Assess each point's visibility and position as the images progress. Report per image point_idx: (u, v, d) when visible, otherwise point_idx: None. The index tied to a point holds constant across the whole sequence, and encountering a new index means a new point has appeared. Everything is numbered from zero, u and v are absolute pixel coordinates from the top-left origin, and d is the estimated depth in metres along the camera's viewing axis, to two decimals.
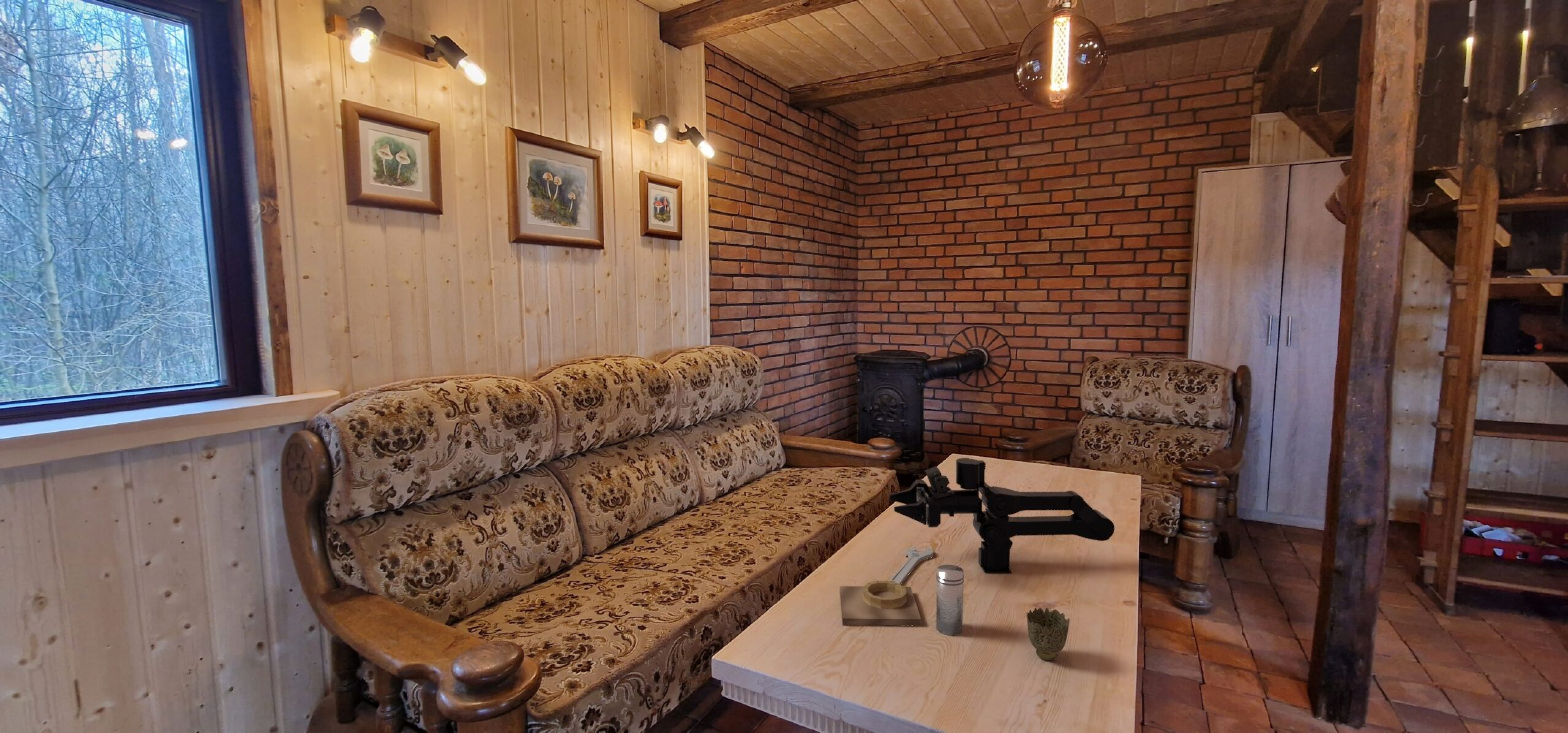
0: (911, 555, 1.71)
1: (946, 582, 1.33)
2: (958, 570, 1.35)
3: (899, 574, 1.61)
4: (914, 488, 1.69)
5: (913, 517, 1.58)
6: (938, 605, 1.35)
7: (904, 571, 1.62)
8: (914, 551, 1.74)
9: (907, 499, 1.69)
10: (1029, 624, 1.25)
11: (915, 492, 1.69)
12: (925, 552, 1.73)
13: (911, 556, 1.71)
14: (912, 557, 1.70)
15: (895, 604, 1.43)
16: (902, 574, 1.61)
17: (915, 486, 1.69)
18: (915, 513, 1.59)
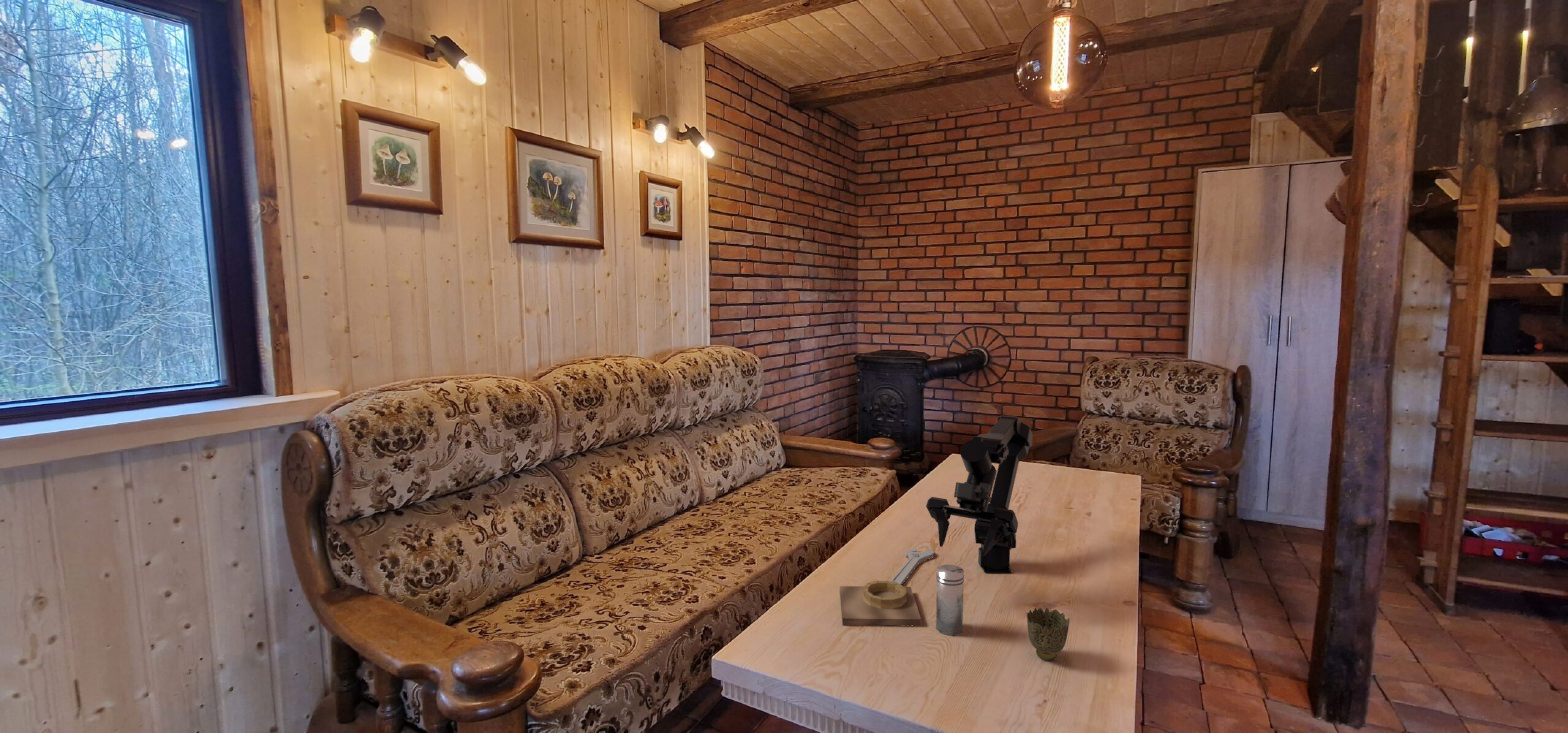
0: (911, 556, 1.71)
1: (946, 582, 1.33)
2: (958, 570, 1.35)
3: (900, 575, 1.61)
4: (944, 514, 1.47)
5: (996, 541, 1.42)
6: (938, 605, 1.35)
7: (905, 572, 1.62)
8: (914, 552, 1.73)
9: (945, 528, 1.47)
10: (1029, 624, 1.25)
11: (945, 515, 1.48)
12: (925, 553, 1.73)
13: (912, 557, 1.70)
14: (913, 558, 1.70)
15: (895, 604, 1.43)
16: (903, 575, 1.61)
17: (943, 512, 1.47)
18: (995, 536, 1.42)
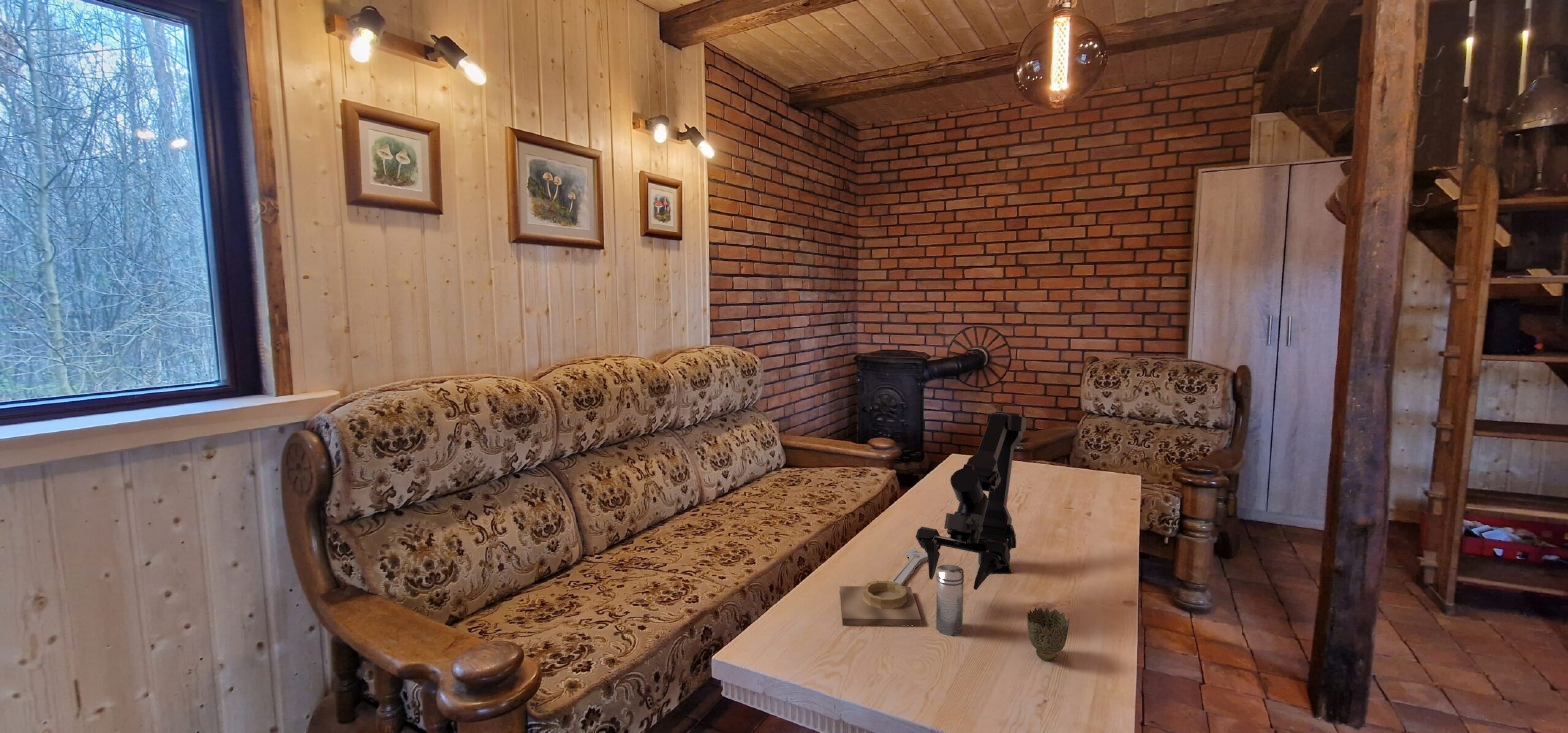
0: (912, 556, 1.71)
1: (946, 582, 1.33)
2: (958, 570, 1.35)
3: (900, 575, 1.60)
4: (934, 545, 1.42)
5: (988, 574, 1.37)
6: (938, 605, 1.35)
7: (905, 572, 1.62)
8: (915, 552, 1.73)
9: (936, 559, 1.42)
10: (1029, 624, 1.25)
11: (935, 547, 1.42)
12: (926, 553, 1.72)
13: (912, 557, 1.70)
14: (913, 558, 1.69)
15: (895, 604, 1.43)
16: (903, 575, 1.60)
17: (933, 543, 1.41)
18: (987, 569, 1.37)
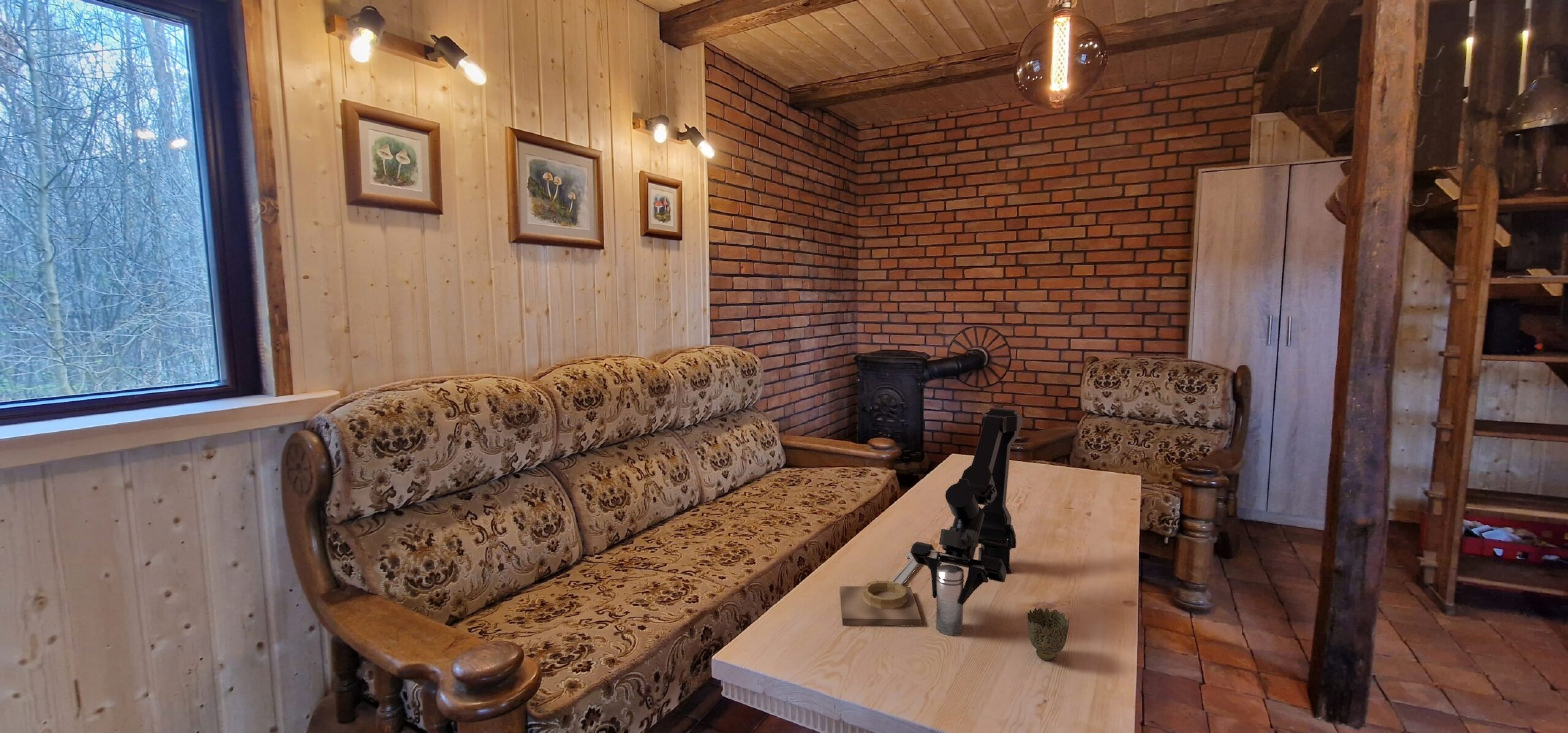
0: (912, 557, 1.70)
1: (946, 582, 1.33)
2: (958, 570, 1.35)
3: (900, 576, 1.60)
4: (937, 563, 1.38)
5: (975, 588, 1.36)
6: (938, 605, 1.35)
7: (905, 573, 1.61)
8: None
9: None
10: (1029, 624, 1.25)
11: (939, 564, 1.39)
12: None
13: (912, 558, 1.70)
14: (913, 559, 1.69)
15: (895, 604, 1.43)
16: (903, 576, 1.60)
17: (937, 561, 1.38)
18: (973, 584, 1.36)
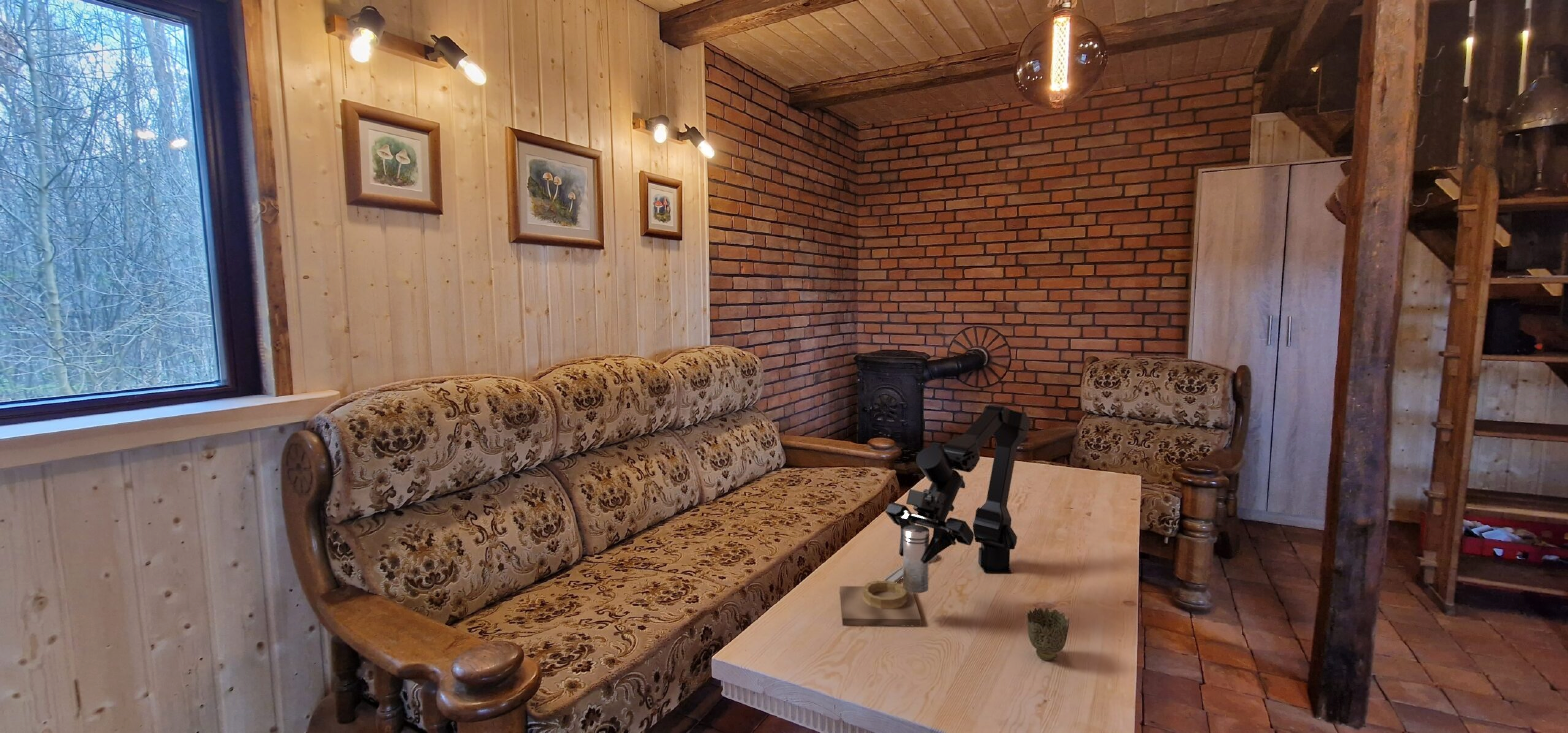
0: None
1: (909, 540, 1.37)
2: (924, 530, 1.38)
3: (894, 575, 1.60)
4: (907, 523, 1.42)
5: (941, 549, 1.38)
6: (903, 563, 1.39)
7: (900, 572, 1.62)
8: None
9: None
10: (1029, 624, 1.25)
11: (910, 524, 1.43)
12: None
13: None
14: None
15: (895, 604, 1.43)
16: (897, 575, 1.60)
17: (907, 521, 1.42)
18: (939, 545, 1.38)
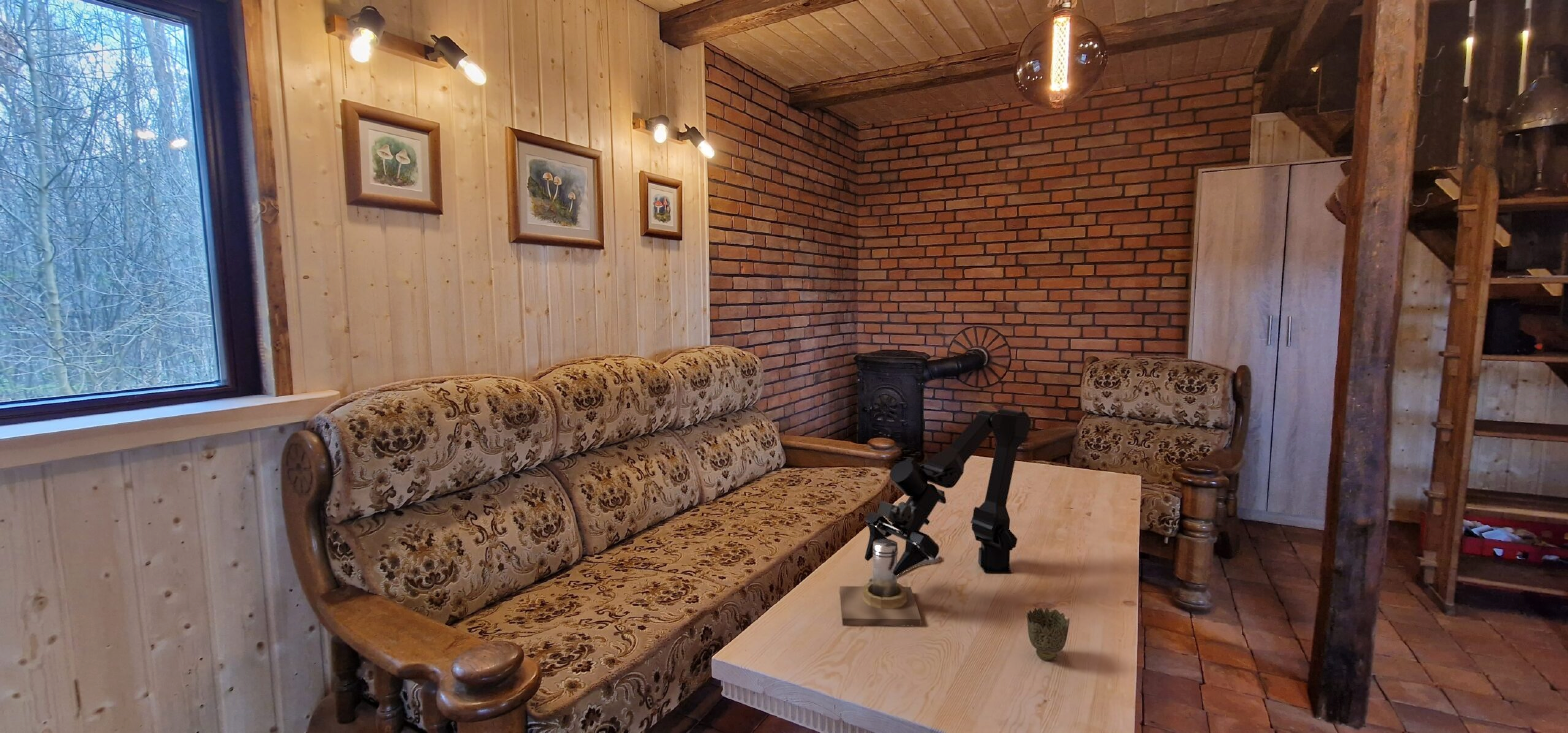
0: None
1: (876, 553, 1.44)
2: (891, 545, 1.45)
3: None
4: (875, 530, 1.51)
5: (913, 563, 1.42)
6: None
7: None
8: None
9: None
10: (1029, 624, 1.25)
11: (878, 532, 1.51)
12: (929, 557, 1.70)
13: None
14: None
15: (895, 604, 1.43)
16: None
17: (875, 528, 1.50)
18: (912, 558, 1.42)
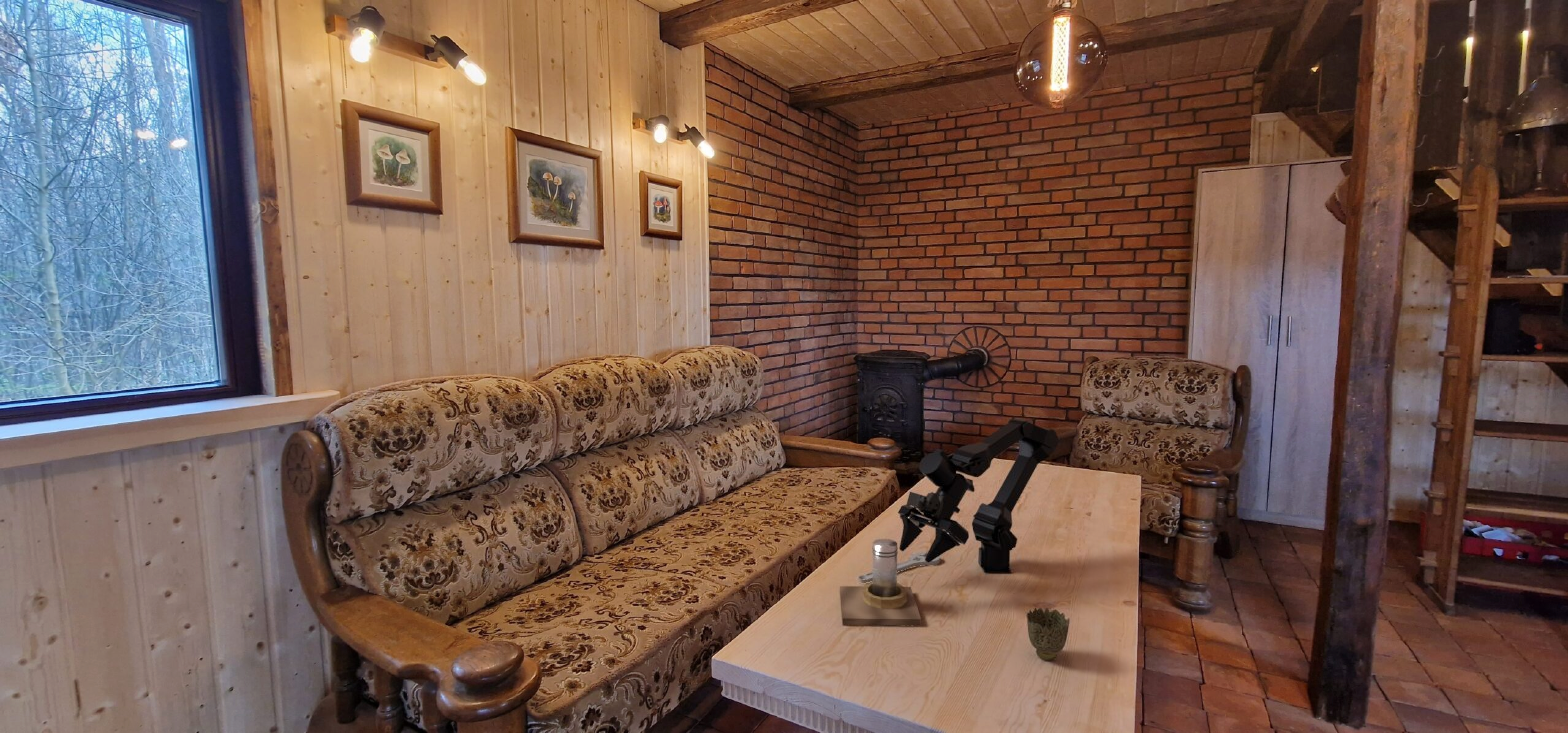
0: (912, 558, 1.69)
1: (876, 553, 1.44)
2: (891, 544, 1.45)
3: None
4: (908, 521, 1.56)
5: (945, 550, 1.47)
6: None
7: None
8: (920, 555, 1.71)
9: (912, 534, 1.57)
10: (1029, 624, 1.25)
11: (911, 523, 1.57)
12: None
13: (911, 559, 1.69)
14: (911, 560, 1.68)
15: (895, 604, 1.43)
16: None
17: (907, 519, 1.56)
18: (943, 545, 1.47)
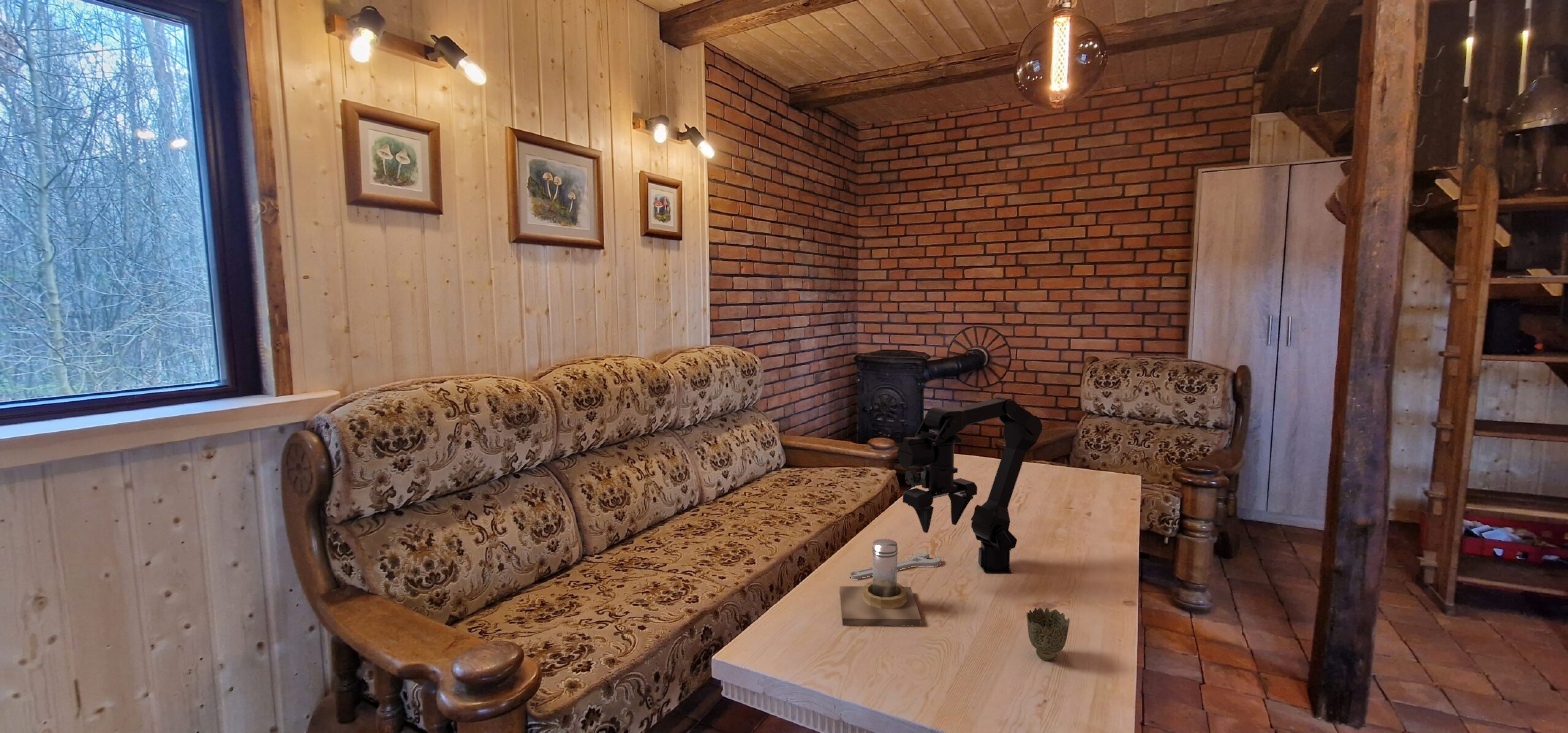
0: (911, 559, 1.69)
1: (876, 553, 1.44)
2: (891, 544, 1.45)
3: None
4: (949, 495, 1.60)
5: (926, 517, 1.52)
6: None
7: None
8: (920, 557, 1.70)
9: (957, 506, 1.58)
10: (1029, 624, 1.25)
11: (953, 495, 1.60)
12: (929, 560, 1.68)
13: (910, 559, 1.69)
14: (909, 560, 1.68)
15: (895, 604, 1.43)
16: None
17: (948, 494, 1.61)
18: (924, 514, 1.53)
